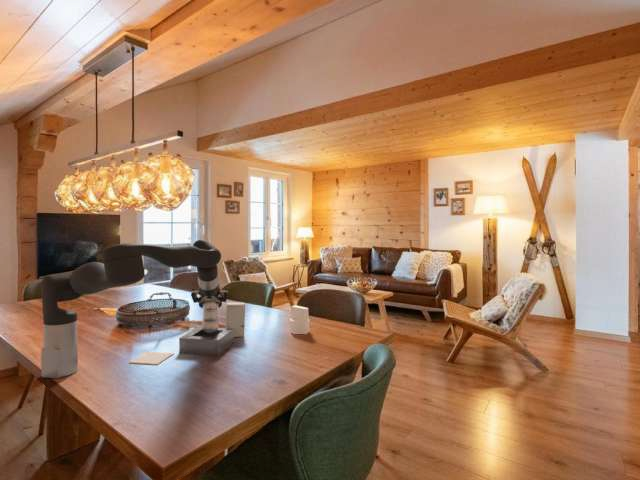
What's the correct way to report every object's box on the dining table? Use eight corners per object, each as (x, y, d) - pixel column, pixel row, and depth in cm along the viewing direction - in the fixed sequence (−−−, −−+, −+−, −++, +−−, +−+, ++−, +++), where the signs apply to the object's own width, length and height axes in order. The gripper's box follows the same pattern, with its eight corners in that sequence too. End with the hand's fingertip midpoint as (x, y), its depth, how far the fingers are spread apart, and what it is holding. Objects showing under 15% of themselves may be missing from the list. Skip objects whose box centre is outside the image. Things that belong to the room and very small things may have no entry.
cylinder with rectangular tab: (313, 332, 174) (313, 307, 173) (299, 336, 167) (299, 310, 166) (299, 328, 180) (299, 304, 179) (286, 332, 173) (286, 307, 172)
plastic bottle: (214, 334, 145) (214, 284, 145) (198, 333, 147) (198, 284, 146) (221, 330, 152) (222, 282, 151) (206, 329, 153) (207, 281, 152)
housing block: (218, 355, 141) (218, 340, 140) (179, 353, 143) (179, 338, 142) (233, 342, 157) (233, 328, 156) (198, 340, 159) (198, 326, 158)
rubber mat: (157, 364, 131) (157, 363, 131) (129, 363, 132) (129, 362, 132) (173, 354, 141) (173, 353, 141) (147, 352, 143) (147, 351, 143)
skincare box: (226, 338, 163) (226, 304, 162) (225, 334, 168) (225, 302, 168) (245, 336, 165) (245, 304, 165) (243, 332, 171) (244, 301, 170)
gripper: (187, 290, 134) (191, 314, 146) (227, 289, 137) (228, 313, 149) (189, 273, 139) (193, 298, 151) (228, 273, 142) (229, 298, 154)
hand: (210, 305), depth 150 cm, fingers closed on plastic bottle, 6 cm apart
